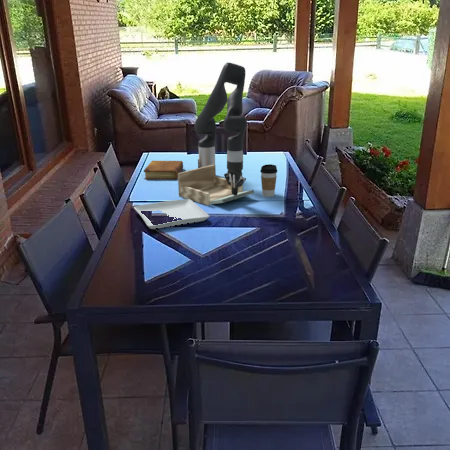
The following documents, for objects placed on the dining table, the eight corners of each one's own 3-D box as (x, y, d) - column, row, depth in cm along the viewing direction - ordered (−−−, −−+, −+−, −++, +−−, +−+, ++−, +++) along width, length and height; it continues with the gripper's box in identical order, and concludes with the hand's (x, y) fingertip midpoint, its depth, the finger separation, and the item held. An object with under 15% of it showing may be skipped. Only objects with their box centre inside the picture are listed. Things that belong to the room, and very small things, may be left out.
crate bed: (178, 196, 250) (177, 173, 246) (214, 186, 266) (213, 164, 261) (207, 206, 236) (206, 181, 231) (242, 194, 251) (242, 171, 247)
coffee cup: (279, 194, 251) (279, 165, 246) (273, 198, 244) (274, 169, 239) (263, 192, 255) (263, 163, 249) (257, 196, 248) (257, 167, 242)
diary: (177, 180, 280) (176, 170, 278) (144, 180, 281) (143, 170, 279) (183, 169, 301) (182, 160, 299) (152, 169, 303) (152, 160, 301)
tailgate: (209, 201, 236) (223, 199, 229) (239, 192, 250) (253, 189, 242) (210, 204, 237) (224, 202, 229) (240, 195, 250) (254, 193, 242)
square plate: (133, 213, 228) (132, 205, 227) (189, 205, 238) (189, 197, 237) (148, 233, 205) (148, 224, 204) (210, 223, 215) (210, 215, 213)
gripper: (219, 158, 233) (219, 193, 240) (239, 163, 224) (239, 199, 231) (230, 155, 238) (230, 189, 244) (250, 160, 229) (250, 196, 236)
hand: (234, 194), depth 238 cm, fingers closed
